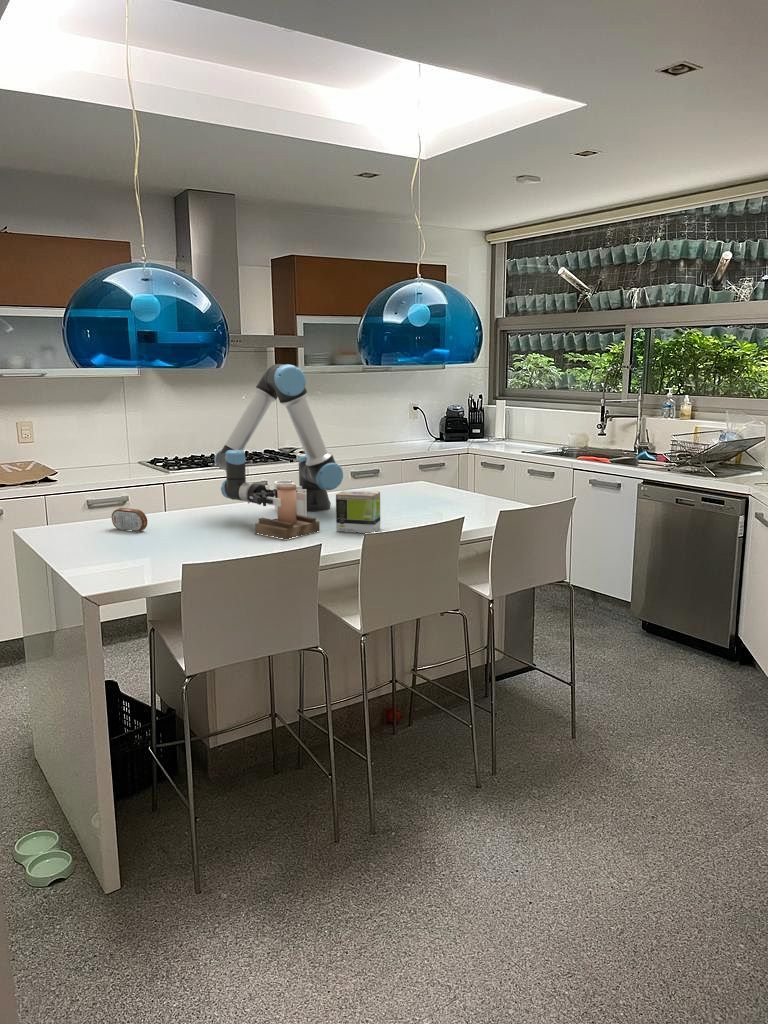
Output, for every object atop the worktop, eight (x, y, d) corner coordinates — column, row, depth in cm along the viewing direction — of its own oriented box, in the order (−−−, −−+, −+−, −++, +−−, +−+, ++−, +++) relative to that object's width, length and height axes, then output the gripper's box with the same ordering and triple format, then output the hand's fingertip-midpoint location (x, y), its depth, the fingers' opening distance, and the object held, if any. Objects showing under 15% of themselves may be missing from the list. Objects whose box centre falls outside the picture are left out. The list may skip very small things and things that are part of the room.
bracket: (271, 508, 344) (270, 481, 342) (293, 507, 347) (292, 479, 345) (284, 520, 321) (283, 491, 319) (307, 519, 324) (307, 489, 322)
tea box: (380, 528, 308) (381, 491, 305) (373, 534, 299) (373, 495, 296) (343, 526, 312) (343, 488, 309) (335, 531, 303) (335, 493, 299)
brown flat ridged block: (289, 525, 312) (288, 511, 311) (319, 531, 303) (319, 517, 302) (255, 533, 298) (254, 519, 297) (285, 540, 289) (285, 525, 288)
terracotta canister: (287, 519, 305) (286, 483, 302) (300, 521, 300) (300, 485, 298) (273, 522, 299) (272, 485, 296) (287, 525, 295) (286, 487, 292)
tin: (148, 531, 302) (147, 509, 300) (143, 533, 299) (141, 511, 297) (116, 527, 307) (115, 506, 305) (110, 529, 304) (109, 508, 302)
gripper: (276, 497, 319) (316, 504, 306) (229, 507, 300) (269, 515, 287) (276, 479, 318) (315, 485, 305) (228, 488, 298) (268, 494, 286)
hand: (293, 499), depth 296 cm, fingers open, 13 cm apart
